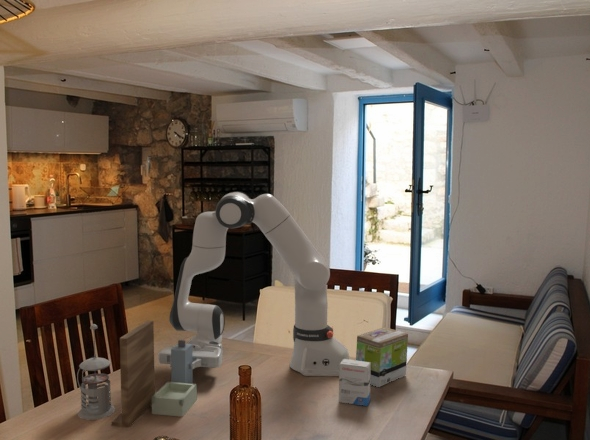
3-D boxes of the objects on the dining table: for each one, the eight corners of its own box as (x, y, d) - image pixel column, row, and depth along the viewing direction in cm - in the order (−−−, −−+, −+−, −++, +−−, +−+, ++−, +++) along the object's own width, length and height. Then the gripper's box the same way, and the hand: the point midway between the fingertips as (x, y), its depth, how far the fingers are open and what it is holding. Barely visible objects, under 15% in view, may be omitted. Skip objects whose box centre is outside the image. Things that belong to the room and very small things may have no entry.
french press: (93, 423, 149) (90, 332, 146) (65, 412, 155) (62, 324, 152) (122, 409, 157) (120, 322, 154) (95, 399, 163) (92, 316, 160)
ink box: (370, 400, 165) (371, 361, 163) (367, 407, 160) (368, 367, 159) (342, 395, 167) (343, 357, 166) (338, 402, 163) (339, 363, 162)
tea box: (379, 389, 173) (380, 342, 171) (354, 379, 180) (355, 335, 178) (407, 376, 183) (408, 332, 182) (382, 367, 190) (383, 325, 189)
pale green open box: (196, 399, 164) (196, 384, 163) (182, 416, 153) (182, 400, 152) (167, 397, 165) (167, 381, 165) (151, 413, 154) (151, 397, 154)
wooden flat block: (154, 401, 162) (153, 321, 160) (129, 427, 147) (126, 338, 144) (138, 400, 163) (137, 320, 160) (111, 425, 147) (108, 337, 145)
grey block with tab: (192, 384, 175) (192, 337, 173) (185, 392, 169) (185, 344, 167) (179, 383, 176) (178, 336, 174) (171, 390, 170) (170, 343, 168)
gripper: (167, 339, 186) (149, 353, 173) (226, 343, 183) (212, 358, 169) (168, 357, 187) (150, 373, 173) (226, 362, 183) (213, 378, 170)
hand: (181, 366), depth 171 cm, fingers closed on grey block with tab, 4 cm apart
